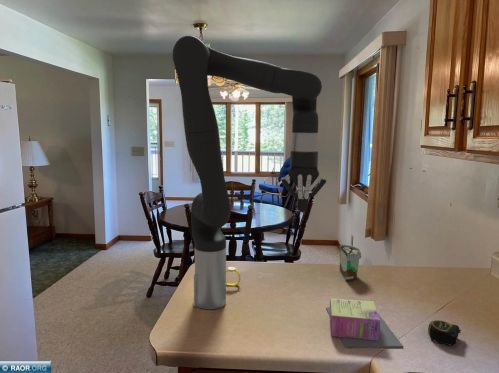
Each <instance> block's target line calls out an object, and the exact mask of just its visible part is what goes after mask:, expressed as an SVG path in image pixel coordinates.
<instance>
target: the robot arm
mask: <svg viewBox="0 0 499 373" xmlns="http://www.w3.org/2000/svg"><path fill="white" fill-rule="evenodd" d="M171 54H172V61H173V65H174V69H175V72H176V73H175V74H176V77H177V82H178V86H179V89H180V95H181V107H182V109H181V110H182V120H183V130H184V135H185V142H186V143H185V144H186V149H187V152H188V156H189V158H190V160H191V162H192V165H193V167H194V169H195V172H196V174H197V176H198V178H199V182H200V188H201V192H200V193H198V194H197V195H196V196H195V197H194V199H193V200H192V203H191V206H190V221H191V224H190V225H191V236H192V239H193V240H192V241H193V243H194V274H193V307H194V308H199V309H203V310H216V309H220V308H222V307H224V306H225V305H226V303H227V285H226V283H227V272H226V270H227V238H226V236H225V235H224V233H223V232H222V230H221V228H222V227H224V226H225V225H226V224H227V223H228V222H229V220H230V218H231V214H232V213H231V212H232V205H231V201H230V200H231V199H230V197H229V193H228V188H227V184H226V179H225V171H224V165H223V157H222V150H221V149H222V148H221V140H220V139H221V137H220V130H219V124H218V120H217V116H216V115H217V114H216V112H215V107H214V105H213V101H212V98H211V95H210V91H209V78H208V77H216V78H222V79H224V80H230V81H233V82H236V83H239V84H242V85H245V86H248V87H250V88H255V89H258V90H261V91H264V92H269V93H273V94H284V95H287V96H290V97H291V101H292V121H291V123H292V128H291V129H292V130H291V139H290V146H289V147H290V158H289V162H290V163H289V169H288V172H287V175H285V176H284V177H281V178H280V181H281V183H282V185H283V186H284V187H285V189H287V191H288V193H289V194H290V195H291V196H292V197H294V198H295V199H296V208H297V211H299V213H306V211H308V209H309V207H308V206H309V199H310V198H313V197H315V196H316V195H317V194H318V193H319V192H320V191H321V189H322V188H323V187H324V185H325V184H327V179H325V178H323V177H322V176H321V175H320V172H319V168H318V167H319V166H318V164H319V163H318V162H319V145H320V144H319V115H318V112H317V107H318V106H317V104H318V103H317V101H318V100H317V99H318V97H319V95H320V94H321V91H322V88H323V85H322V81H321V79H320V78H319V77H318V75H316V74H314V73H311V72H309V71H305V70H300V69H299V70H298V69H293V68H285V67H282V66H280V65H279V66H278V65H275V64H272V63H269V62H265V61H260V60H256V59H252V58H251V59H250V58H244V57H240V56H239V57H238V56H234V55H233V56H232V55H230V54H227V53H224V52H220V51H218V50H216V49H214V48H211V47H210V46H207V45H206V44H205V43H204V42H203V41H202V39H199V37H196V36H193V35H184V36H182V37H180V38H178V40H177V41H176V42H175V44H174V46H173V49H172V53H171ZM291 181H292V183H293V184H294V185H295V188H296V191H295V190H294V189H293V188H292V186H291V185H290V184H291ZM314 183H316V184H315V185H314V186H313V187H312V189H311V186H312V185H313V184H314Z"/></svg>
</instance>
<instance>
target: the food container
mask: <svg viewBox="0 0 499 373" xmlns="http://www.w3.org/2000/svg"><path fill="white" fill-rule="evenodd" d="M360 259H362V252H361V250H360V249H359V248H358V247H356V246H352V245H348V244H339V274H341V276H342V278H343V280H344V281H345V282H353V281H356V280H357V277H358V273H359V272H358V270H359V262H360Z"/></svg>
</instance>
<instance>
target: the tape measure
mask: <svg viewBox="0 0 499 373" xmlns="http://www.w3.org/2000/svg"><path fill="white" fill-rule="evenodd" d="M461 331H462V329H460V327H459V326H458V325H457V324H452V323H449V322H447V321H445V320H444V321H443V320H437V319H436V320H432V321H430V323H429V324H428V329H427V333H428V335H429V337H430V338H431V339H432V340H433V341H435V342H437V343H439V344H445V345H450V346H456V345H457V342H458V337H459V335H460V334H461Z"/></svg>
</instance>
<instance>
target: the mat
mask: <svg viewBox="0 0 499 373" xmlns="http://www.w3.org/2000/svg"><path fill="white" fill-rule="evenodd" d="M325 309H326V311H327V314H328V315H329V312H330V306H328V307H325ZM378 316H379V318H380V336H379V341H375V340H366V339H357V338H347V337H339V338H340V340H341V341H342V343H343V346H344V347H345V349H347V348H348V349H352V348H353V349H365V348H369V349H370V348H371V349H372V348H373V349H375V348H379V349H380V348H381V349H382V348H390V349H391V348H404V345H403V344H402V342H401V341H400V339H398V338H397V336H396V335H395V334H394V332H393V331H392V330H391V328H390V327H389V325H388V324H387V323H386V322H385V321H384V319H383V318H382V316H381V315H380V314H379V313H378Z"/></svg>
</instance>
